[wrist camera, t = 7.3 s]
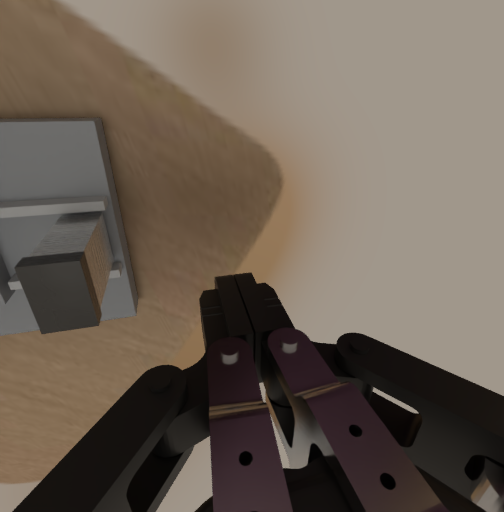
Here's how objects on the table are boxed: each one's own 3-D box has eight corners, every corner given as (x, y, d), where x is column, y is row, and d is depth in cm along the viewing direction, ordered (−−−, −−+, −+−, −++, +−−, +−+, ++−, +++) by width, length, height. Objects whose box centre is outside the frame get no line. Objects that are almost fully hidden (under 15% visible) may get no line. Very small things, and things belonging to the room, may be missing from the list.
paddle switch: (75, 265, 18) (41, 334, 13) (59, 213, 16) (13, 267, 11) (116, 261, 18) (98, 325, 13) (104, 209, 17) (79, 260, 12)
